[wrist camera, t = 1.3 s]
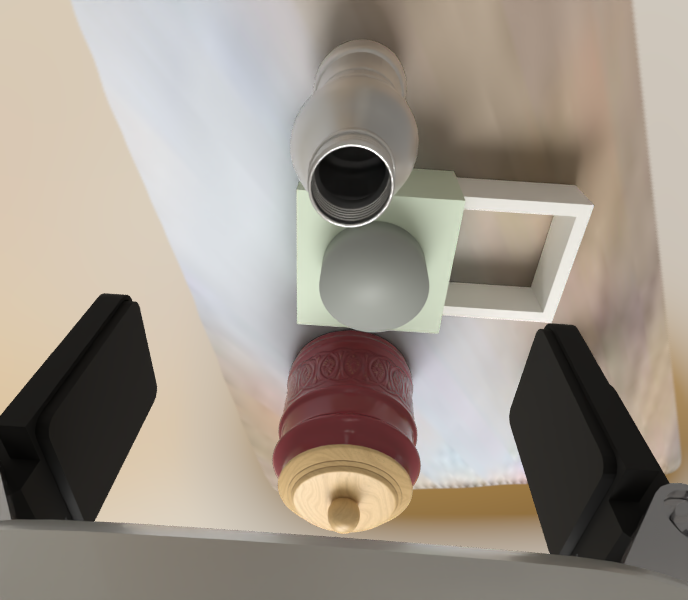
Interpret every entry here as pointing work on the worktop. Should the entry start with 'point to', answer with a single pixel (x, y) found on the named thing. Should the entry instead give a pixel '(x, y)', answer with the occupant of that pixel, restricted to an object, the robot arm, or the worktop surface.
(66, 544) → the robot arm
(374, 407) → the canister
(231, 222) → the worktop surface
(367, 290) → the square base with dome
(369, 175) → the silver bottle
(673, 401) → the worktop surface
